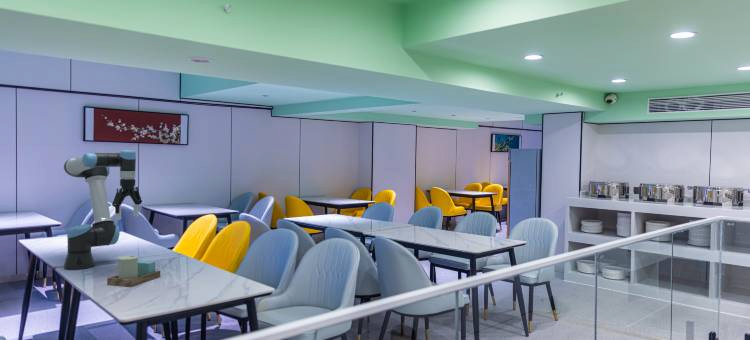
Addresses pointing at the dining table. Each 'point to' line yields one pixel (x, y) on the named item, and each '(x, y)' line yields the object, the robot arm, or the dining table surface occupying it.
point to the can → (128, 267)
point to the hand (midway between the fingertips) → (127, 217)
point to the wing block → (145, 267)
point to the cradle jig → (133, 282)
